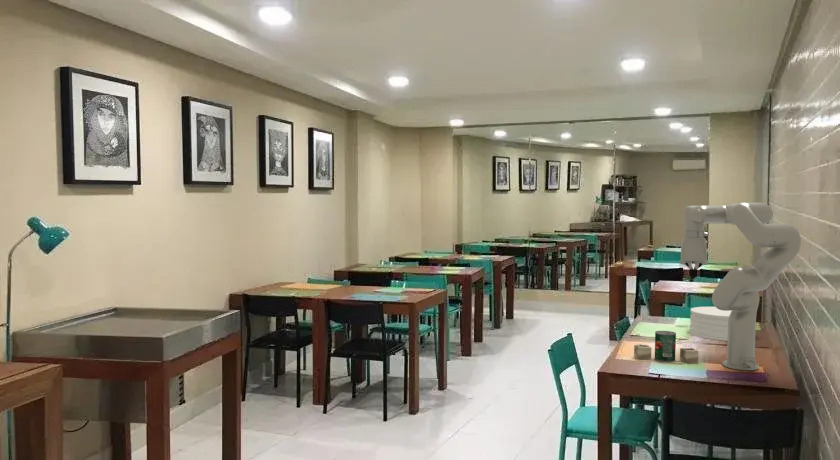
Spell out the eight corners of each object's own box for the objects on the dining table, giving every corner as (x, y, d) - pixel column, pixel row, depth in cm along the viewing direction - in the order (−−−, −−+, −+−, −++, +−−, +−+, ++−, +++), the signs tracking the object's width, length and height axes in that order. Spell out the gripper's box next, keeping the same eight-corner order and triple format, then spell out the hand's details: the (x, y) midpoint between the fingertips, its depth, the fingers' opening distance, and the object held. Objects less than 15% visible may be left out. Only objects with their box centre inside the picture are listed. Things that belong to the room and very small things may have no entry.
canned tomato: (650, 358, 265) (650, 331, 264) (665, 356, 267) (666, 330, 267) (663, 362, 257) (664, 335, 257) (679, 361, 260) (680, 333, 259)
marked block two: (651, 359, 262) (651, 347, 262) (639, 360, 262) (639, 347, 262) (645, 356, 267) (645, 344, 267) (633, 356, 267) (634, 344, 267)
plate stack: (734, 344, 293) (735, 318, 293) (678, 333, 316) (678, 310, 315) (765, 336, 310) (766, 312, 309) (709, 327, 332) (710, 304, 332)
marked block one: (698, 363, 257) (698, 350, 257) (686, 363, 256) (686, 350, 256) (691, 360, 262) (692, 347, 262) (679, 360, 261) (680, 347, 261)
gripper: (712, 235, 276) (711, 278, 277) (674, 234, 281) (673, 276, 282) (714, 235, 269) (713, 280, 269) (675, 235, 274) (674, 278, 274)
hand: (693, 278), depth 276 cm, fingers closed
